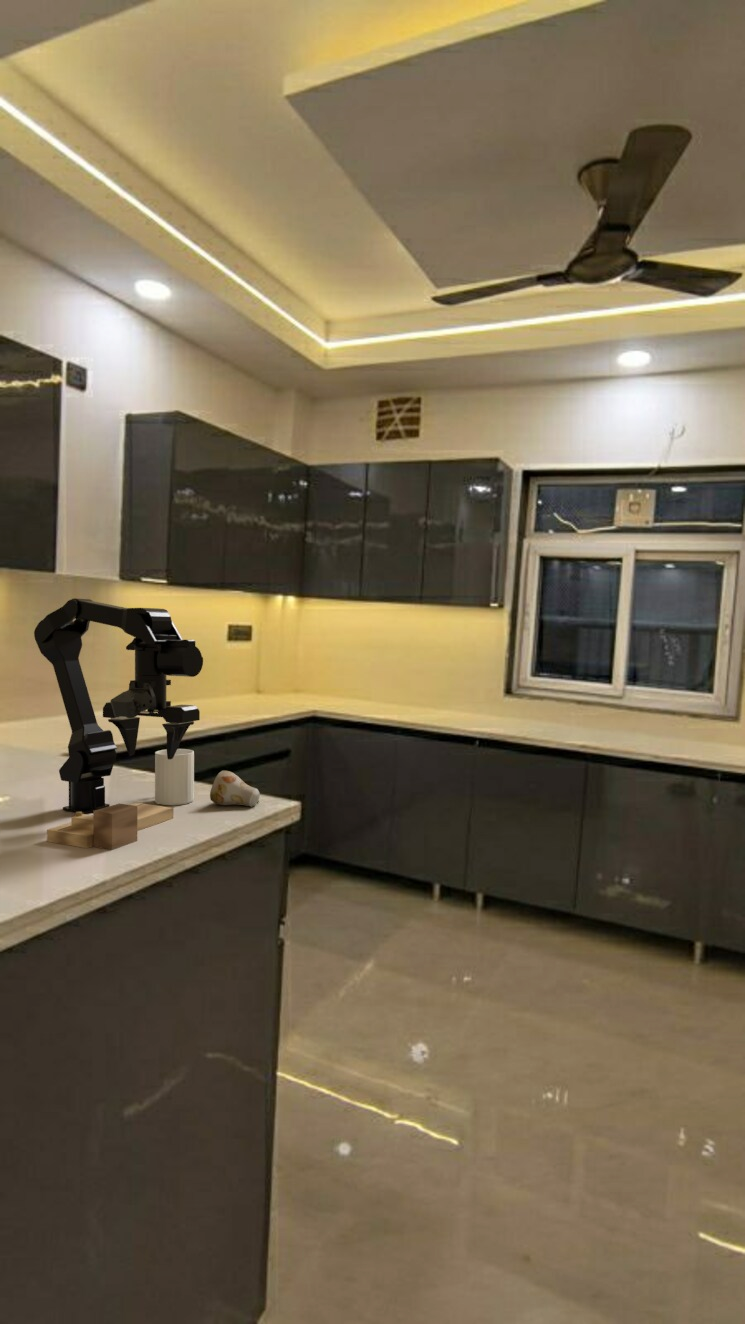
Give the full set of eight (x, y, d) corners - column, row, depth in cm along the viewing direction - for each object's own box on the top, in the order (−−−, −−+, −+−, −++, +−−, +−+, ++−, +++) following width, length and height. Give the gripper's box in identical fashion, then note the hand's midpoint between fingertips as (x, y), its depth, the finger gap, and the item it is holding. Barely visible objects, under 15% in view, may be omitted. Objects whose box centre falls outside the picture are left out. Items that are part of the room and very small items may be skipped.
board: (46, 841, 127) (46, 829, 127) (136, 812, 147) (136, 802, 147) (87, 848, 123) (87, 835, 123) (173, 818, 143) (173, 807, 143)
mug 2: (193, 805, 154) (193, 754, 154) (153, 806, 153) (153, 755, 152) (194, 792, 166) (194, 745, 166) (157, 793, 164) (157, 746, 164)
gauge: (63, 841, 127) (63, 806, 127) (89, 832, 132) (89, 799, 132) (112, 849, 123) (112, 813, 122) (137, 840, 128) (137, 805, 128)
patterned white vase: (256, 812, 150) (231, 770, 149) (220, 828, 154) (195, 787, 153) (271, 795, 157) (247, 755, 156) (236, 811, 161) (212, 771, 160)
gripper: (80, 675, 137) (80, 759, 138) (162, 679, 130) (162, 768, 130) (123, 672, 147) (123, 751, 148) (201, 675, 140) (201, 758, 140)
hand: (150, 757), depth 141 cm, fingers open, 9 cm apart
